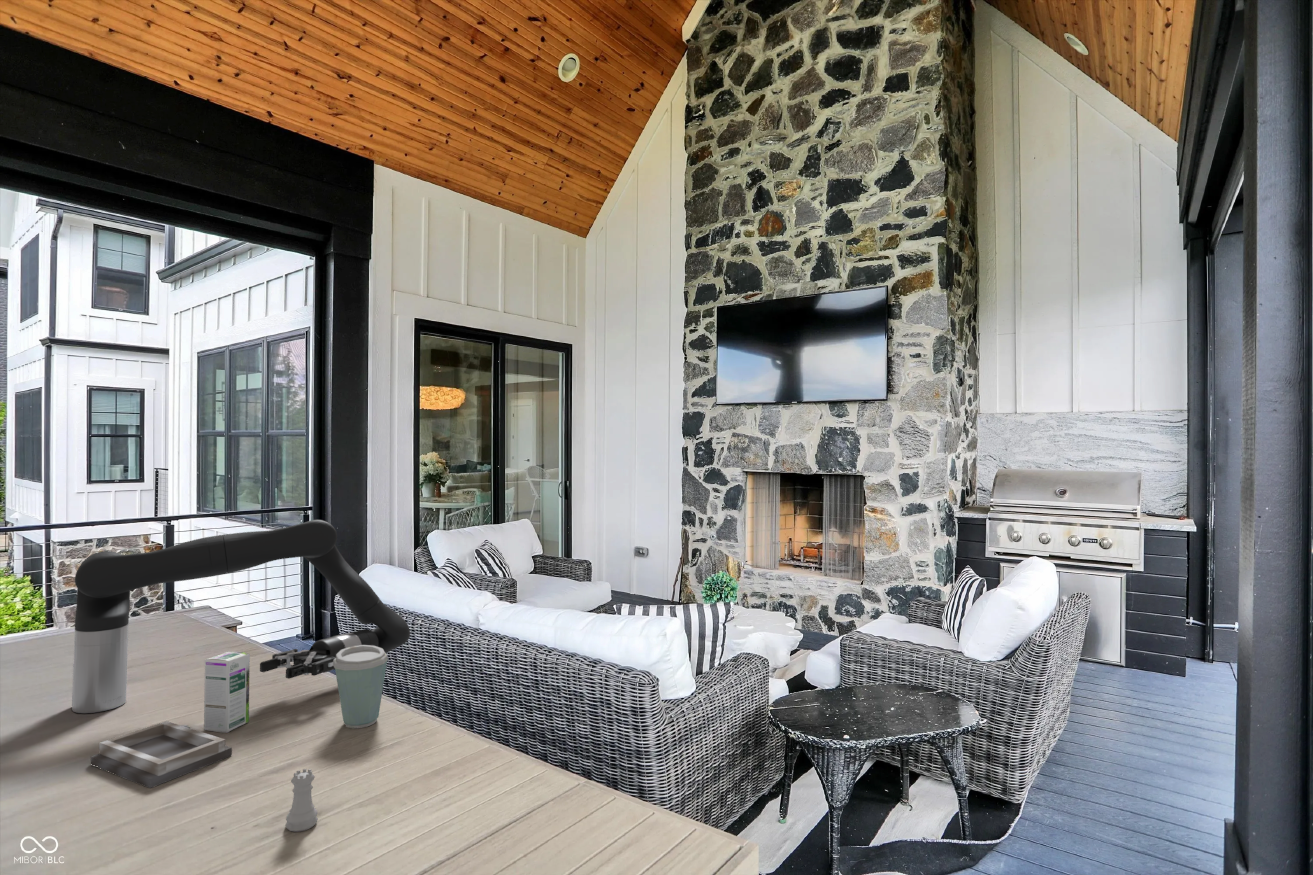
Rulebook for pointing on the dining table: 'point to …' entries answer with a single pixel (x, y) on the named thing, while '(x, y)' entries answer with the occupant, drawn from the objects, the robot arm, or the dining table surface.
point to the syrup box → (226, 691)
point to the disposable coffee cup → (360, 683)
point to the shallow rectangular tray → (159, 753)
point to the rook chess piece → (302, 803)
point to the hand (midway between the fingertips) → (273, 670)
